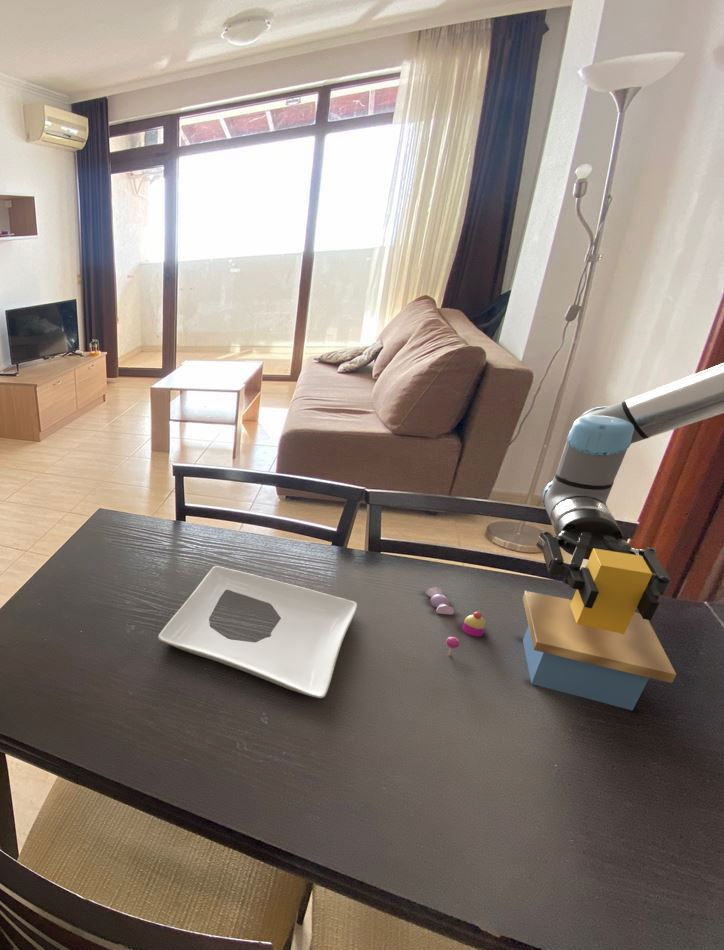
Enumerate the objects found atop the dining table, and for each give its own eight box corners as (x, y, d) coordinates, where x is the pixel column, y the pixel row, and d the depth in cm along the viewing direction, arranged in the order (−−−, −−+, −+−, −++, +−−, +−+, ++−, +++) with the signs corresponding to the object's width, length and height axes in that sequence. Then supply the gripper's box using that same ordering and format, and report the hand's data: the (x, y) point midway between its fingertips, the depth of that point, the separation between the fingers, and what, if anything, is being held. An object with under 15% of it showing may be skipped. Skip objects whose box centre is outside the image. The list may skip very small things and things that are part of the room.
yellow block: (615, 614, 78) (641, 555, 74) (624, 634, 75) (652, 574, 70) (569, 605, 81) (593, 548, 77) (576, 624, 77) (600, 565, 73)
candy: (410, 597, 103) (416, 570, 100) (458, 601, 101) (466, 574, 98) (443, 662, 87) (451, 632, 85) (501, 669, 85) (512, 638, 82)
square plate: (355, 617, 99) (359, 599, 97) (321, 717, 79) (324, 697, 78) (213, 577, 114) (214, 561, 112) (155, 652, 95) (155, 635, 93)
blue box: (611, 666, 84) (630, 625, 80) (630, 715, 76) (652, 672, 72) (521, 644, 89) (535, 605, 86) (529, 688, 81) (545, 647, 78)
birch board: (641, 622, 81) (645, 614, 80) (672, 683, 70) (676, 674, 70) (522, 598, 88) (525, 590, 87) (533, 650, 77) (536, 642, 77)
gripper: (652, 560, 86) (707, 648, 68) (509, 537, 95) (525, 609, 77) (672, 518, 82) (734, 600, 65) (521, 498, 92) (540, 565, 74)
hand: (620, 605), depth 71 cm, fingers closed on yellow block, 5 cm apart
